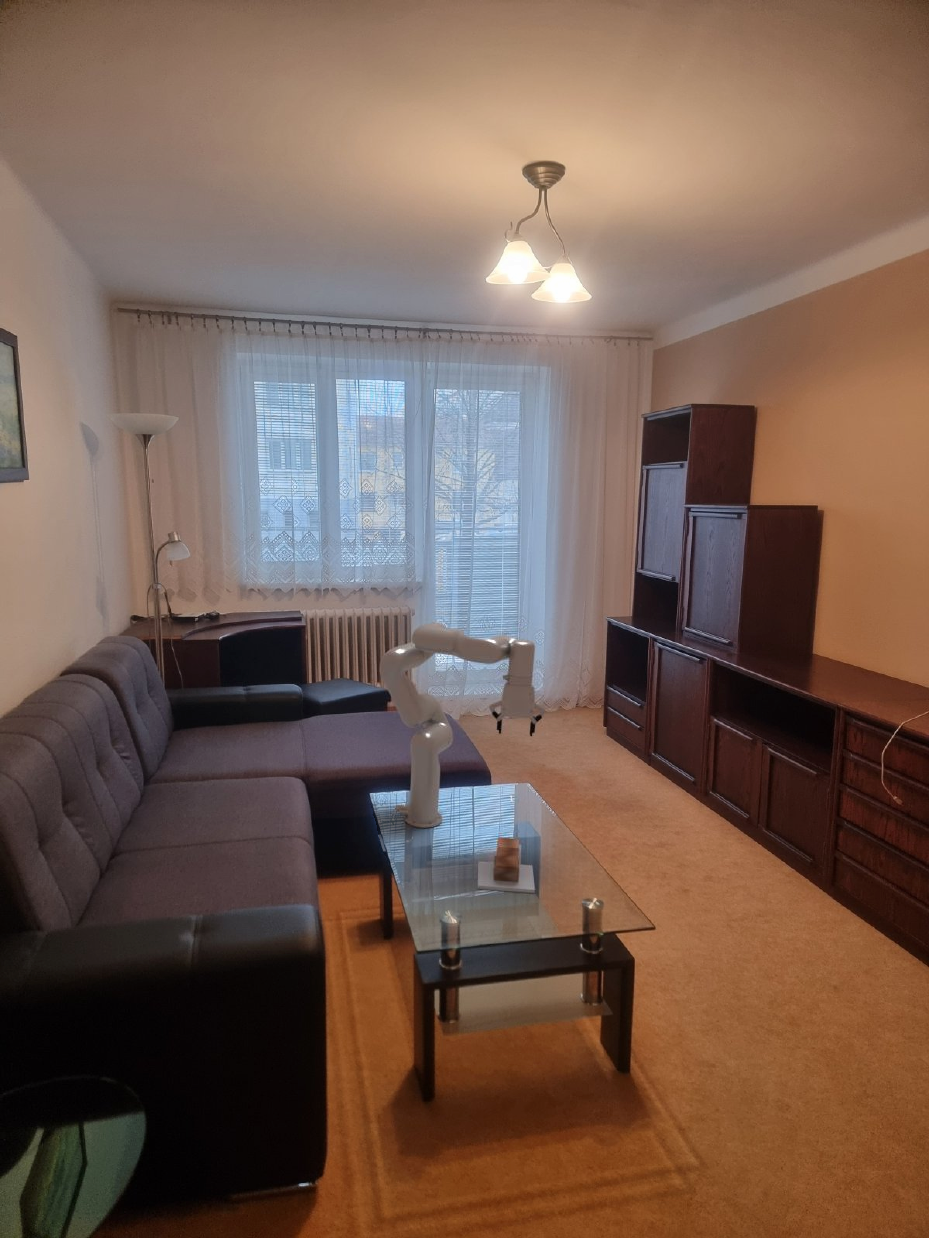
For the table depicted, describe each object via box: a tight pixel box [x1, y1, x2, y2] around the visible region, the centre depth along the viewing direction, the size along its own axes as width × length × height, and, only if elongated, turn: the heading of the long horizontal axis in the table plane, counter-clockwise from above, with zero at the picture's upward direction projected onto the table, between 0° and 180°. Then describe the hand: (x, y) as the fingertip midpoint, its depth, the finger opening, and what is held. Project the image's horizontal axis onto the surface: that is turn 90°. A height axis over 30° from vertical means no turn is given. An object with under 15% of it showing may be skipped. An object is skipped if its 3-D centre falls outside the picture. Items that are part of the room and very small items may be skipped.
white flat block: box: [476, 855, 536, 894], centre depth 219 cm, size 16×14×5 cm
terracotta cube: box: [495, 836, 520, 868], centre depth 218 cm, size 6×6×6 cm
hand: (515, 733), depth 236 cm, fingers open, 9 cm apart
